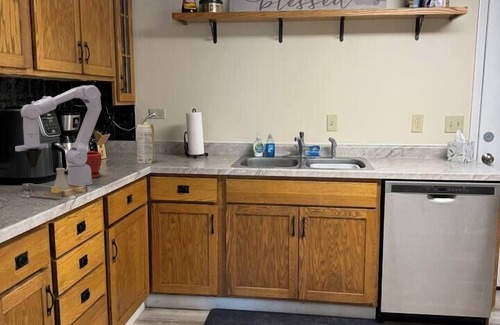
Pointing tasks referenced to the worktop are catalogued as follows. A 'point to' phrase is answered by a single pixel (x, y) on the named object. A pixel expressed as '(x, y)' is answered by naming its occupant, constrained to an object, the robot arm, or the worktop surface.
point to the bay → (69, 191)
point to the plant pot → (94, 163)
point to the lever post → (27, 193)
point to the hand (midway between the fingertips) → (33, 167)
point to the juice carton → (145, 143)
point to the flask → (61, 179)
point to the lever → (41, 187)
